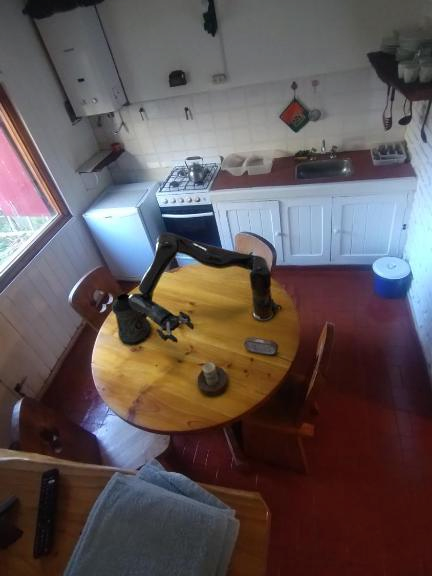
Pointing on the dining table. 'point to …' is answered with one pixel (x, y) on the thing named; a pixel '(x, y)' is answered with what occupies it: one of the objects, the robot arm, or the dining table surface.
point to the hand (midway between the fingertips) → (184, 333)
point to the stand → (214, 389)
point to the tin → (261, 345)
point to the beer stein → (130, 322)
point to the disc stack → (210, 373)
